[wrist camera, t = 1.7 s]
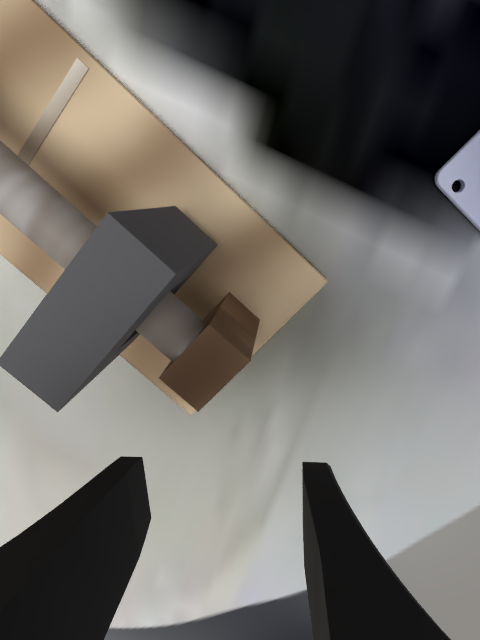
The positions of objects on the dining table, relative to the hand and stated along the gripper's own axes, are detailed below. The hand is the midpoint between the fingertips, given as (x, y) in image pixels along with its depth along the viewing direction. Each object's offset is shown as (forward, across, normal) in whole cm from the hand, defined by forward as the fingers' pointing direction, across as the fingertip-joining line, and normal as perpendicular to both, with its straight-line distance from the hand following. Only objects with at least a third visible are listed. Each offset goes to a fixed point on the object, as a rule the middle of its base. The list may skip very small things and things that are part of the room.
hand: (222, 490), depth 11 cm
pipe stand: (+10, +7, -7) cm, 14 cm away
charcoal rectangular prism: (+8, +4, -4) cm, 10 cm away
